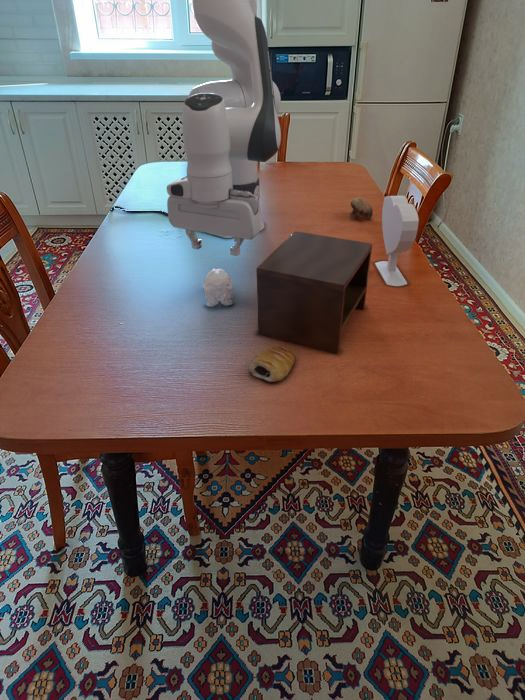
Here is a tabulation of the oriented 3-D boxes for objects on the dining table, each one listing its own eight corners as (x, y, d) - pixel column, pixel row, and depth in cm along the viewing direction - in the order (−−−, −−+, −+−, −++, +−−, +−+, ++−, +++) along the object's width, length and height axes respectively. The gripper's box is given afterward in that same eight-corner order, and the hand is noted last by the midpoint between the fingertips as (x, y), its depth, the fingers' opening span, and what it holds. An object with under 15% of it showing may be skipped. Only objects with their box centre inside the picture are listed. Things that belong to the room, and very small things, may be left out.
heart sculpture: (410, 287, 115) (424, 213, 104) (389, 288, 114) (400, 214, 104) (391, 258, 127) (402, 189, 117) (372, 259, 127) (381, 190, 116)
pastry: (274, 349, 95) (274, 333, 93) (304, 361, 92) (305, 345, 90) (246, 374, 89) (245, 358, 87) (277, 388, 86) (277, 371, 84)
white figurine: (201, 276, 102) (202, 256, 112) (205, 312, 106) (205, 290, 117) (232, 274, 102) (229, 255, 113) (234, 310, 107) (231, 289, 117)
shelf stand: (258, 334, 100) (256, 267, 91) (293, 291, 114) (294, 230, 105) (337, 354, 94) (344, 285, 85) (364, 307, 108) (372, 243, 99)
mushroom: (341, 209, 147) (354, 192, 145) (346, 211, 155) (359, 194, 152) (361, 226, 146) (375, 209, 144) (365, 227, 154) (378, 211, 151)
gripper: (264, 187, 95) (266, 253, 103) (176, 177, 103) (184, 239, 111) (250, 197, 91) (253, 265, 99) (159, 185, 98) (168, 249, 106)
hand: (216, 251), depth 105 cm, fingers open, 8 cm apart
